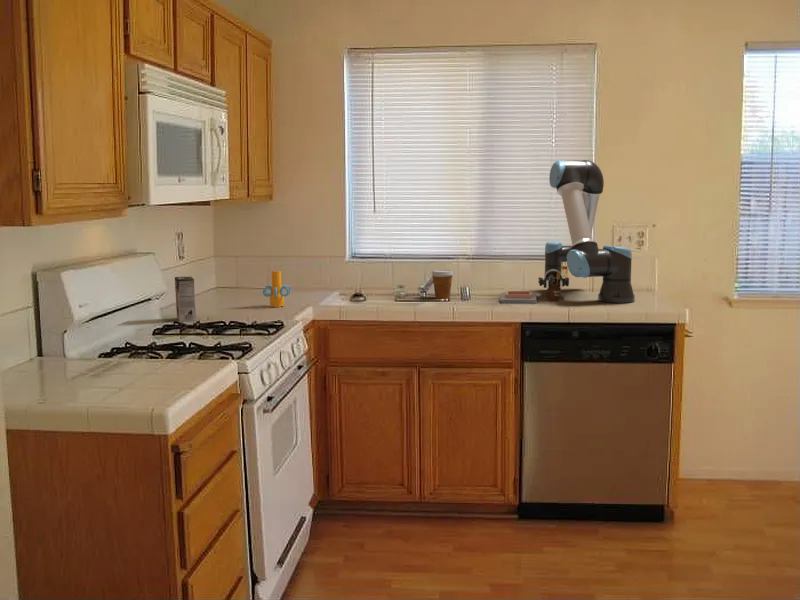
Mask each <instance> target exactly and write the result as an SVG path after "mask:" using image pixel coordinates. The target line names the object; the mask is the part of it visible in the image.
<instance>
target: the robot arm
mask: <svg viewBox="0 0 800 600" xmlns="http://www.w3.org/2000/svg"><path fill="white" fill-rule="evenodd" d="M604 184H605V181H604V175H603V172H602V171H601V168H600V167H599V166H598V165H597V164H596V163H595V162H594V161H593V160H592V161H591V160H589V159H581V160H578V159H576V160H573V159H571V160H566V159H565V160H564V159H563V160H556V161H554V163H553V164H552V165H551V167H550V171H549V185H550V186H551V188H554V189H556V192H557V194H558V195H559V196H561V200H562V203H563V208H564V213H565V218H566V222H567V226H568V232H569V235H570V241H571V245H563V243H562V242H561V241H548V242H546V243H545V247H544V277H541V276H539V277H538V281H537V282H538V283H537V284H539V286H540V287H542V286H543V288H544V289H548V284H549V283H557V278H556V277H557V272H558V273H559V274H560V279H558V283H559V284H560V289H561V290H562V289H563V287H565V286H566V287H569V285H570V277H565V278H564V277H562V265H563V263H566V266H567V269H568V270H569V273H570V274H571V275H572V276H573V277H575V278H584V279H586V278H599V277H600V278H602V283H601V287H600V290H599V293H598V294H597V301H599V302H602V303H612V304H613V303H614V304H623V303H624V304H627V303H633V302H635V300H636V298H635V297H636V296H635V293H634V289H633V286H632V260H633V258H632V250H631V249H630V248H629V247H625V246H616V245H608V244H607V245H606V244H605V245H603V247H602V248H599V245H598V243H597V241H595V240H593V236H592V231H593V229H594V224H595V217H596V215H597V213H596V212H597V209H598V203H599V200H600V196H601V194H603V192H604V186H605V185H604ZM560 272H561V273H560ZM553 275H554V277H553ZM549 277H550V278H549ZM554 278H555V279H554ZM551 279H552V281H551ZM553 279H554V281H553Z"/></svg>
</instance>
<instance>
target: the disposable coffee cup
mask: <svg viewBox="0 0 800 600" xmlns="http://www.w3.org/2000/svg"><path fill="white" fill-rule="evenodd" d="M431 275H432V281H433V288H434V289H433V290H434V297H435V299H438V300H446V299H450V297H451V289H452V283H453V282H452V281H453V276H454V273H453V270H451V269H435V270H432V273H431Z"/></svg>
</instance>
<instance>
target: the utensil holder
mask: <svg viewBox="0 0 800 600" xmlns="http://www.w3.org/2000/svg"><path fill="white" fill-rule="evenodd" d="M560 273H561V274H562V271H561V272H560ZM553 277H554V275H553ZM549 278H550V277H549ZM556 278H557V283H549V284H548V288H546V299H547V301H551V302H552V301H554V302H557V301H561V300H562V299H561V298H562V289H560V284H559V283H558V279H560V274H559V273H558V272H557V277H556ZM554 279H555V278H554ZM554 279H553V281H554ZM551 281H552V279H551Z"/></svg>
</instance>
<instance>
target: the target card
mask: <svg viewBox="0 0 800 600" xmlns="http://www.w3.org/2000/svg"><path fill="white" fill-rule="evenodd" d="M499 303H500V304H527V305H529V304H534V305H535V304H537V292H532V291H531V290H529V291H528V290H506V292H501V295H500V299H499Z"/></svg>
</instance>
